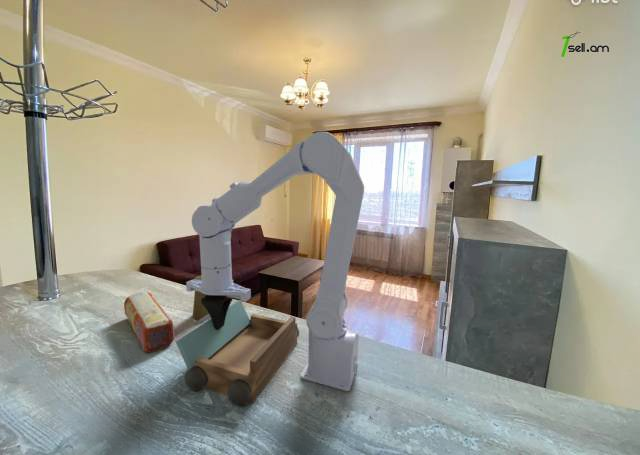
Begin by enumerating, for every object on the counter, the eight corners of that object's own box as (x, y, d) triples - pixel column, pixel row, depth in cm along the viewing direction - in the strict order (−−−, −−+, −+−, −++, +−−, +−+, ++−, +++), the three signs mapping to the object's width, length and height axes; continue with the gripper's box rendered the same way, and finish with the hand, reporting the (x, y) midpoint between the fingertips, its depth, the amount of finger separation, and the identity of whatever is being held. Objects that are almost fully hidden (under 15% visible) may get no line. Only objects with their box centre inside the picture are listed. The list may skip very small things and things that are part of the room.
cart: (299, 340, 62) (299, 312, 60) (248, 409, 43) (247, 370, 41) (251, 329, 66) (250, 303, 65) (185, 388, 47) (182, 352, 46)
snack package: (177, 344, 59) (175, 316, 58) (142, 357, 55) (139, 327, 54) (153, 311, 74) (151, 288, 73) (124, 319, 70) (122, 294, 69)
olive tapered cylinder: (207, 321, 69) (205, 281, 67) (187, 318, 70) (184, 279, 68) (220, 311, 75) (219, 273, 73) (201, 308, 76) (199, 271, 74)
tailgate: (250, 322, 64) (239, 296, 64) (192, 370, 47) (177, 335, 47) (245, 324, 65) (233, 298, 65) (186, 372, 48) (170, 338, 48)
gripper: (258, 263, 55) (259, 324, 57) (202, 256, 59) (205, 312, 62) (237, 274, 48) (239, 342, 50) (176, 264, 53) (180, 327, 55)
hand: (219, 327), depth 56 cm, fingers closed, pressing on tailgate
